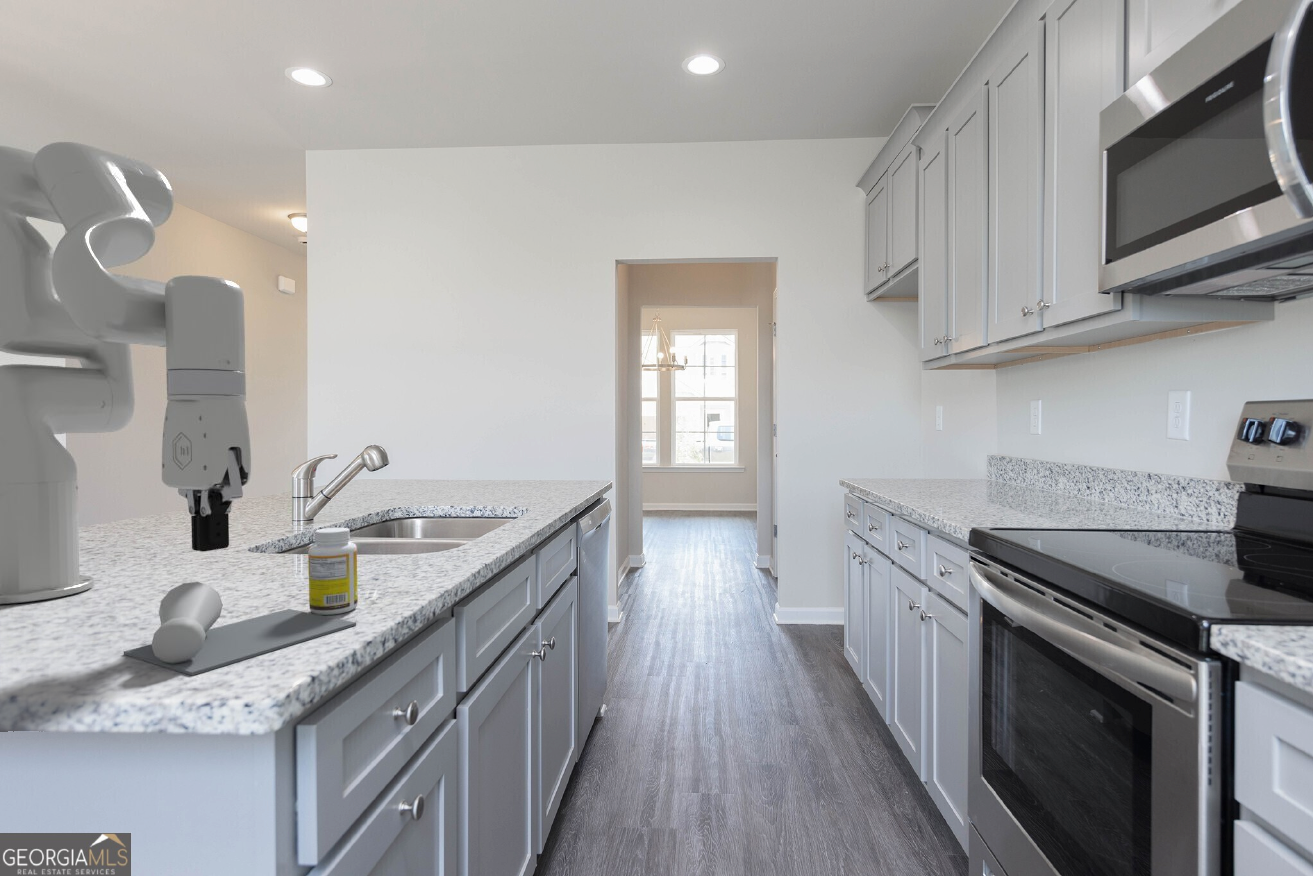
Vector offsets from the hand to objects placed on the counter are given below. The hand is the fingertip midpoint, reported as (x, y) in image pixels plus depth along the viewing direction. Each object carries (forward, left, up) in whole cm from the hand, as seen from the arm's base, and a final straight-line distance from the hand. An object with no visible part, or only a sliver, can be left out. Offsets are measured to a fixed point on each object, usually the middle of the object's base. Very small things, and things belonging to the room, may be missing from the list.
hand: (210, 548), depth 78 cm
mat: (+7, 0, -9) cm, 12 cm away
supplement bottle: (+5, +12, -10) cm, 16 cm away
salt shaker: (-1, -1, -6) cm, 6 cm away
